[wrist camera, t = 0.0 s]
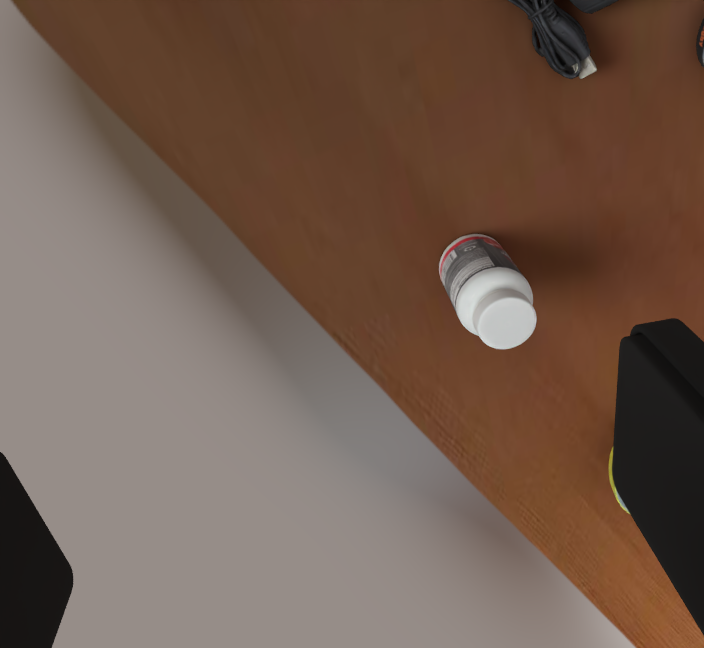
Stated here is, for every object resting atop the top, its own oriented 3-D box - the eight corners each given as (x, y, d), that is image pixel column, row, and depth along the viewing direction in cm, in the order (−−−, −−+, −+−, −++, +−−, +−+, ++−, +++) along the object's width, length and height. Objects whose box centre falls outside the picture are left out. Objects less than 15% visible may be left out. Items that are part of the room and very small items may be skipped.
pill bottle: (517, 266, 50) (562, 328, 42) (462, 305, 52) (494, 372, 43) (481, 218, 48) (520, 272, 39) (424, 260, 49) (450, 321, 41)
